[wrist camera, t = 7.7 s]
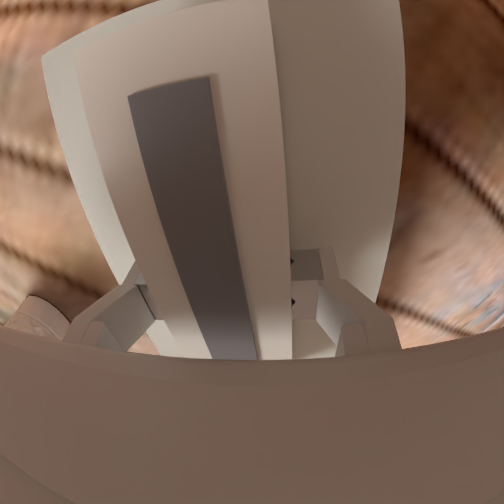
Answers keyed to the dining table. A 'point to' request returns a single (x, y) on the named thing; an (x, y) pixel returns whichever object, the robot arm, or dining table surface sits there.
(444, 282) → the dining table surface
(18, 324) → the white cup
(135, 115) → the cream rectangular block
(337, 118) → the mounting board
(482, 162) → the dining table surface
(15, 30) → the dining table surface
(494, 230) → the dining table surface
